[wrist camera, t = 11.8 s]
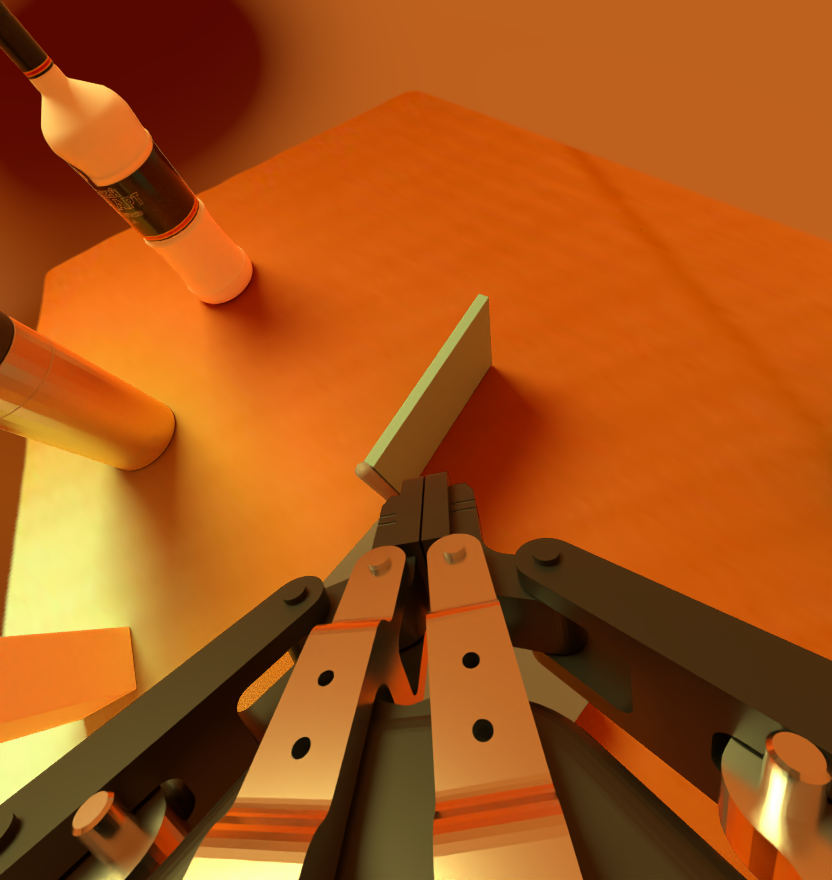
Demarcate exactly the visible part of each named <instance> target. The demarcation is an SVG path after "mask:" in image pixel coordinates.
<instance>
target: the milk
mask: <svg viewBox="0 0 832 880" xmlns="http://www.w3.org/2000/svg"><path fill="white" fill-rule="evenodd" d="M136 688H137V687H136V678H135V670H134V662H133V654H132V645H131V637H130V629H129V627H118V628H106V629H93V630H81V631H69V632H57V633H44V634H32V635H20V636H8V637H0V743H3V742H6V741H9V740H13V739H16V738H20V737H23V736H26V735H30V734H33V733H37V732H40V731H44V730H47V729H50V728H54V727H57V726H61V725H64V724H68V723H71V722H74V721H78V720H81V719H84V718H85V717H87V716H89V715H91V714H93V713H94V712H96V711H98V710H100V709H102V708H103V707H105V706H107V705H109V704H111V703H112V702H114V701H116V700H118V699H120V698H121V697H123V696H125V695H127V694H129V693H130V692H132V691H134V690H136Z"/></svg>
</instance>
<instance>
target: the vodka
mask: <svg viewBox="0 0 832 880" xmlns="http://www.w3.org/2000/svg"><path fill="white" fill-rule="evenodd" d="M0 48H1V49H2V50H3V51H4V52H5V53H6V54H7V55H8V56H9V57H10V59H11V60H12V61H13V62H14V63H15V64H16V65H17V66H18V67H19V68H20V69H21V70H22V72H23V73H24V74H25V75H26V76H27V77H28V78H29V79H30V81H31V82H32V84H33V85H34V86H35V87H36V88H37V89H38V90H39V91H40V93H41V95H42V117H41V119H42V120H41V121H42V122H41V127H42V131H43V134H44V137H45V139H46V141H47V143H48V144H49V146H50V147H51V149H52V150H53V151H54V152H55V153H56V154H57V155H59V156H60V157H61V158H63V159H64V160H65V161H66V162H67V163H68V164H69V165H70V166H71V167H72V168H74V170H76V171H77V172H78V173H79V174H80V175H81V176H82V177H83V178H84V179H85V180H86V181H87V182H88V183H89V184H90V185H91V186H92V187H93V188H94V189H95V190H96V191H97V192H98V193H99V194H100V195H101V196H102V197H103V198H104V199H105V200H106V201H107V202H108V203H109V204H110V205H111V206H112V207H113V208H114V209H115V210H116V211H117V212H118V213H119V214H120V215H121V216H122V217H123V218H124V219H125V220H126V221H127V222H128V223H129V224H130V225H131V226H132V227H133V228H134V229H135V230H136V231H137V232H138V233H139V234H140V235H141V236H142V237H143V239H144V240H145V242H146V244H147V245H149V246H150V247H152V248H153V249H155V250H156V251H157V252H158V253H159V254H160V255H161V256H162V257H163V258H164V259H165V260H166V261H167V262H168V263H169V264H170V265H171V267H172V268H173V269H174V270H175V271H176V272H177V273H178V274H179V275H180V277H181V278H182V279H183V281H184V282H185V283H186V285H187V287H188V289H189V290H190V291H191V292H192V293H193V294H194V295H195V296H196V297H197V298H198V299H199V300H201V301H203V302H206V303H209V304H220V303H224V302H227V301H229V300H231V299H233V298H235V297H236V296H238V295H239V294H240V293H241V292H242V291H243V290H244V289H245V288H246V286H247V285H248V283H249V282H250V280H251V277H252V272H253V269H252V264H251V261H250V259H249V257H248V256H247V255H246V254H245V252H244V251H243V250H242V249H241V248H240V247H238V246H237V245H236V244H235V243H234V242H233V241H232V240H231V239H230V238H229V237H228V236H227V235H226V234H225V233H224V232H223V231H222V229H221V228H220V227H219V226H218V224H217V223H216V222H215V221H214V219H213V218H212V217H211V215H210V214H209V212H208V211H207V210H206V208H205V205H204V204H203V202H202V201H201V200H199V199H198V198H196V196H195V195H194V194H193V192H192V191H191V190H190V188H189V187H188V186H187V185H186V183H185V182H184V181H183V179H182V178H181V177H180V176H179V174H178V173H177V172H176V171H175V169H174V168H173V167H172V165H171V164H170V163H169V161H168V160H167V159H166V157H165V156H164V155H163V153H162V152H161V151H160V150H159V148H158V147H157V146H156V144H155V143H154V142H153V141H152V138H151V136H150V134H149V132H148V131H147V130H146V129H145V128H143V127H142V125H141V124H140V122H139V120H138V119H137V118H136V116H135V114H134V113H133V111H132V110H131V108H130V107H129V106H128V104H127V103H126V102H125V101H124V100H123V99H122V98H121V97H120V96H119V95H117V94H116V93H115V92H114V91H112V90H110V89H109V88H107V87H105V86H103V85H98V84H93V83H89V82H84V81H80V80H74V79H69V78H67V77H66V76H65V75H64V74H63V73H62V72H61V71H60V69H59V68H58V67H57V66H56V65H55V64H54V63H53V61H52V60H51V59H50V58H49V57H48V55H47V54H46V53H45V52H44V51H43V49H42V48H41V47H40V46H39V45H38V43H37V42H36V41H35V40H34V39H33V38H32V36H31V35H30V34H29V33H28V32H27V31H26V29H25V28H24V27H23V26H22V25H21V23H20V22H19V21H18V20H17V19H16V18H15V16H14V15H13V14H11V13H10V10H9V9H8V8H7V7H6V6H5V5H4V3H3V2H2V1H1V0H0Z"/></svg>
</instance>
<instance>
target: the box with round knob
mask: <svg viewBox="0 0 832 880" xmlns="http://www.w3.org/2000/svg"><path fill="white" fill-rule="evenodd" d="M378 522H379V519H378V521H377V522H376V523H375V524H374V525H373V526H372V527H371V529H370V530H369V531H368V532H367V533H366V534H365V535H364V536H363V538H362V539H361V540H360V541H359V542H358V543H357V544H356V546H355V547H354V548H353V549H352V550H351V551H350V552H349V553H348V555H347V556H346V557H345V558H344V559H343V560H342V561H341V563H340V564H339V565H338V566H337V567H336V568H335V569H334V570H333V572H332V573H331V574H330V575H329V576H328V577H327V578H326V580H325V581H324V582H323V585H324V587H325V588H327V587H329V586H332V585H334V584H337V583H339V582H342V581H344V580H346V579H348V578H350V576H351V573H352V571H353V568H354V566H355V564H356V562H357V561H358V559H359V558H360V557H361V556H363V555H364V554H365V553H367V552H368V551H370V550H371V549H372V545H373V541H374V538H375V534H376V530H377V526H378ZM428 613H430V612H428ZM513 650H514V653H515V657H516V660H517V663H518V667H519V670H520V674H521V677H522V680H523V684H524V687H525V691H526V694H527V697H528V701H531V702H534V703H538V704H541V705H543V706H546V707H548V708H550V709H553V710H555V711H557V712H558V713H560V714H562V715H564V716H565V717H567V718H569V719H570V720H572V721H573V722H575V721H576V719H577V718H578V716H579V715H580V714H581V712H582V711H583V709H584V708H585V707H586V705H587V704H588V701H587V700H586V699H584V698H583V697H582V696H581V695H579V694H578V693H577V692H576V691H574V690H573V689H572V688H571V687H569V686H568V685H567V684H565V683H564V682H563V681H562V680H560V679H559V678H558V677H557V676H555V675H554V674H553V673H552V672H550V671H549V670H548V669H547V668H545V667H544V666H543V665H542V664H540V663H539V662H538V661H537V659H536V658H535V657H534V655H533V653H532V650H527V649H521V648H516V647H513ZM428 698H430V686H429V667H428V665H427V674H426V683H425V693H424V700H426V699H428Z"/></svg>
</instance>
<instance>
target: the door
mask: <svg viewBox="0 0 832 880" xmlns="http://www.w3.org/2000/svg"><path fill="white" fill-rule="evenodd" d="M491 364H492V356H491V336H490V317H489V297H486V296H484V295H481V294H479V295H478V296H477V298H476V299H475V300H474V302H473V303H472V305H471V306H470V308H469V309H468V311H467V312H466V314H465V315H464V316H463V318H462V319H461V321H460V322H459V324H458V325H457V327H456V328H455V330H454V331H453V332H452V334H451V335H450V337H449V338H448V340H447V341H446V343H445V344H444V346H443V347H442V348H441V350H440V351H439V353H438V354H437V356H436V357H435V359H434V360H433V362H432V363H431V364H430V366H429V367H428V369H427V370H426V372H425V373H424V375H423V376H422V377H421V379H420V380H419V382H418V383H417V385H416V386H415V388H414V389H413V391H412V392H411V393H410V395H409V396H408V398H407V399H406V401H405V402H404V404H403V405H402V407H401V408H400V409H399V411H398V412H397V414H396V415H395V417H394V418H393V420H392V421H391V423H390V424H389V425H388V427H387V428H386V430H385V431H384V433H383V434H382V436H381V437H380V439H379V440H378V441H377V443H376V444H375V446H374V447H373V449H372V450H371V452H370V453H369V455H368V456H367V457H366V459H365V460H364V462H362V463H360V464H358V465H357V467H356V469H355V473H356V475H357V476H358V477H359V478H360V479H361V480H363V481H364V482H365V483H366V484H367V485H369V486H370V487H371V488H372V489H374V490H375V491H376V492H377V493H378V494H380V495H381V496H382V497H383V498H385V499H386V500H388V499H389V498H390V497H393V496H398V495H400V493H401V488H402V482H403V480H405V479H410V478H415V477H419V476H420V474H421V473H422V471H423V470H424V468H425V467H426V465H427V464H428V462H429V460H430V459H431V457H432V456H433V454H434V453H435V451H436V450H437V448H438V446H439V445H440V443H441V442H442V440H443V439H444V437H445V436H446V434H447V432H448V431H449V429H450V428H451V426H452V425H453V423H454V422H455V420H456V419H457V417H458V415H459V414H460V412H461V411H462V409H463V408H464V406H465V405H466V403H467V401H468V400H469V398H470V397H471V395H472V394H473V392H474V391H475V389H476V388H477V386H478V384H479V383H480V381H481V380H482V378H483V377H484V375H485V374H486V372H487V370H488V369H489V367H490V366H491Z"/></svg>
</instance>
